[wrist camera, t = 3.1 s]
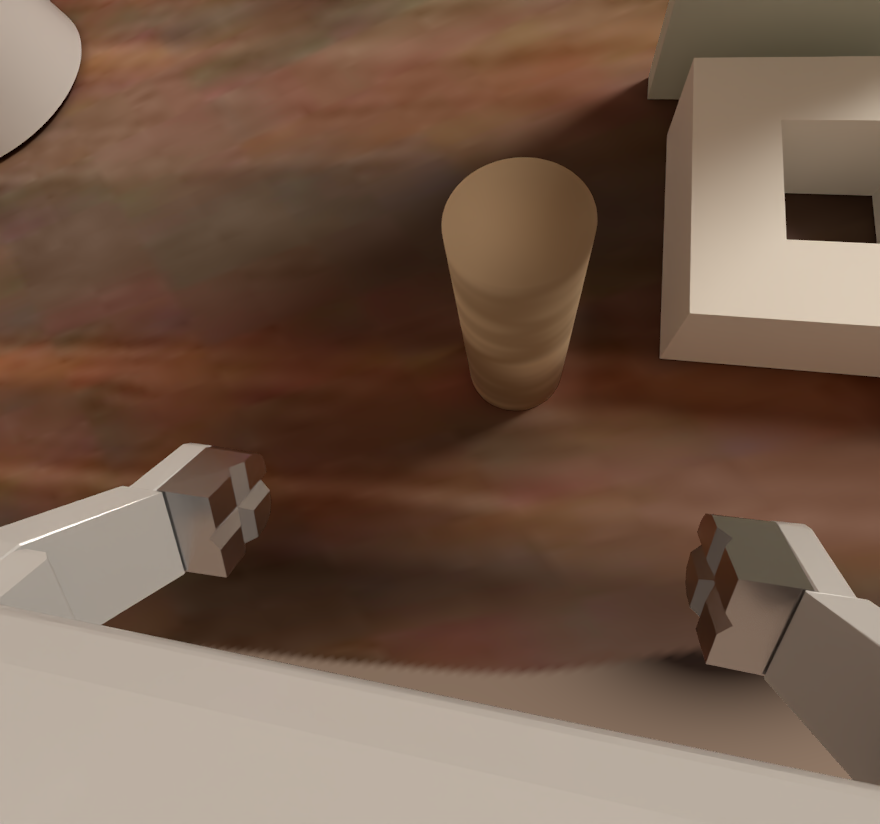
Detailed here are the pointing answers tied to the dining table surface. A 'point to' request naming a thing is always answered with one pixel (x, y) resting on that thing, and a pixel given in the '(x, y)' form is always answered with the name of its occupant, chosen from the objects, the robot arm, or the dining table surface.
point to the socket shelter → (768, 182)
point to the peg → (518, 273)
